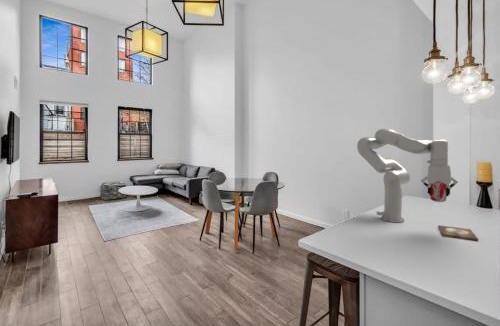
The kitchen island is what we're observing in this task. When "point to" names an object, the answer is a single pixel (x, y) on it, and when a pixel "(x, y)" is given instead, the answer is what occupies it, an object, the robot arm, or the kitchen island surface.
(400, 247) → the kitchen island surface
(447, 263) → the kitchen island surface
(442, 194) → the soda can
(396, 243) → the kitchen island surface
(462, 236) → the coaster board
